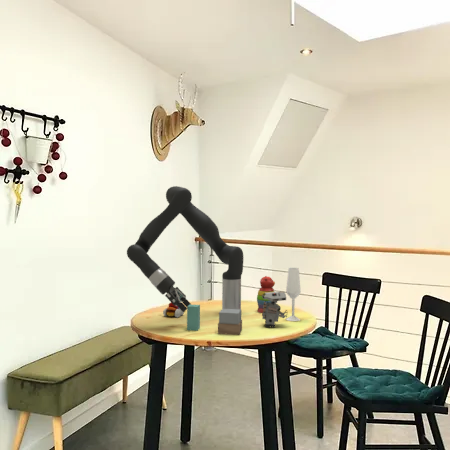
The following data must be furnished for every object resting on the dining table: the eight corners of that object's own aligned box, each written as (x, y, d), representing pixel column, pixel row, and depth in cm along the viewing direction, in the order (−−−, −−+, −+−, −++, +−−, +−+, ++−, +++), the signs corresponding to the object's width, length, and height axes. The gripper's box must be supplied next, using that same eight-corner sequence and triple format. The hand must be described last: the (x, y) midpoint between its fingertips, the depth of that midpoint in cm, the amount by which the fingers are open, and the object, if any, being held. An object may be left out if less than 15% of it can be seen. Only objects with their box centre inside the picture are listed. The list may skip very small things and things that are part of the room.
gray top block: (222, 319, 203) (222, 308, 203) (241, 320, 201) (241, 309, 201) (218, 323, 195) (219, 312, 195) (238, 324, 193) (238, 313, 193)
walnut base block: (221, 329, 203) (221, 319, 203) (241, 330, 202) (242, 319, 202) (217, 334, 194) (217, 323, 194) (239, 335, 193) (239, 324, 193)
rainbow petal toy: (161, 317, 225) (161, 302, 225) (169, 313, 234) (169, 298, 234) (177, 318, 223) (177, 303, 222) (185, 314, 232) (185, 299, 232)
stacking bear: (276, 314, 234) (276, 278, 234) (255, 313, 236) (256, 277, 235) (277, 309, 245) (277, 275, 244) (257, 309, 246) (258, 274, 246)
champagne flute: (283, 319, 222) (283, 268, 222) (290, 317, 227) (291, 267, 227) (295, 321, 218) (295, 269, 217) (303, 319, 223) (303, 268, 222)
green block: (189, 327, 205) (189, 304, 205) (199, 328, 205) (200, 304, 204) (187, 330, 201) (187, 306, 200) (197, 330, 200) (197, 306, 200)
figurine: (288, 328, 205) (288, 293, 204) (261, 327, 206) (262, 293, 205) (287, 323, 214) (287, 290, 214) (261, 323, 215) (262, 289, 214)
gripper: (163, 277, 197) (190, 305, 195) (172, 273, 211) (197, 299, 209) (150, 289, 198) (177, 318, 196) (160, 284, 212) (185, 311, 210)
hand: (187, 308), depth 203 cm, fingers open, 8 cm apart
